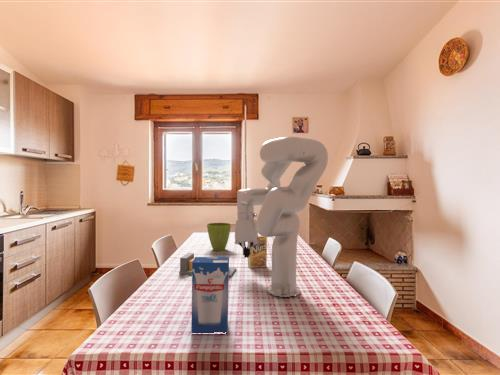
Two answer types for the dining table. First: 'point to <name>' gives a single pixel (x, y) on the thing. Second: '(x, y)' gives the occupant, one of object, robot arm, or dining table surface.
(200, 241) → the dining table surface
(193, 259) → the orange slab
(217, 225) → the flower pot
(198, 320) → the milk carton
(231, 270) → the board
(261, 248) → the candy box
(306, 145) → the robot arm
